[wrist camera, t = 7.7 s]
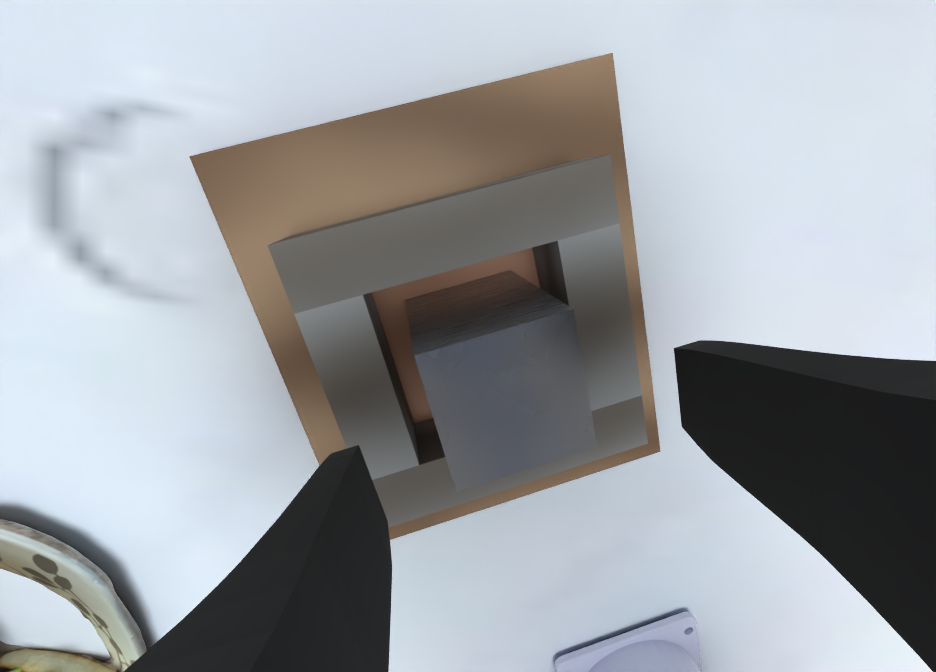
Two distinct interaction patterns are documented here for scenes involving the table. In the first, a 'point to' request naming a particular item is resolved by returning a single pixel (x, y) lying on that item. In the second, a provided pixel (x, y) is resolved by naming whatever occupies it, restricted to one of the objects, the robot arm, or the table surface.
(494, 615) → the table surface
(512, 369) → the steel block
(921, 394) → the robot arm
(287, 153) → the well board
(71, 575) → the salad plate
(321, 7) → the table surface
